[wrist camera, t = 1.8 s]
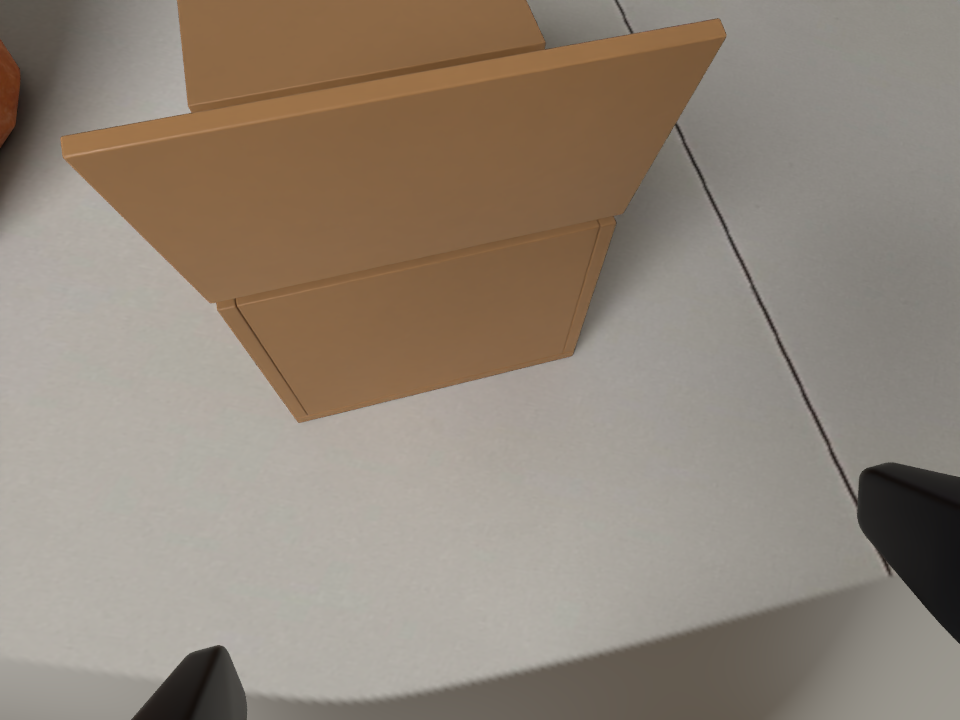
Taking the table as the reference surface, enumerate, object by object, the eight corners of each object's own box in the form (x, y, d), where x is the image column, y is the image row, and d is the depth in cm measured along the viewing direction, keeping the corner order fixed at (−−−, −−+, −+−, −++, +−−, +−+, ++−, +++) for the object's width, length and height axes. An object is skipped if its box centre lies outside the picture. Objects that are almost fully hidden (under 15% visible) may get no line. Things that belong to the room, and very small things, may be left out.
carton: (572, 356, 25) (623, 203, 17) (298, 423, 24) (204, 294, 15) (485, 124, 31) (491, -80, 22) (257, 168, 29) (171, -31, 21)
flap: (618, 201, 17) (623, 214, 17) (207, 289, 16) (209, 304, 16) (720, 16, 11) (728, 35, 11) (58, 135, 10) (61, 157, 9)
